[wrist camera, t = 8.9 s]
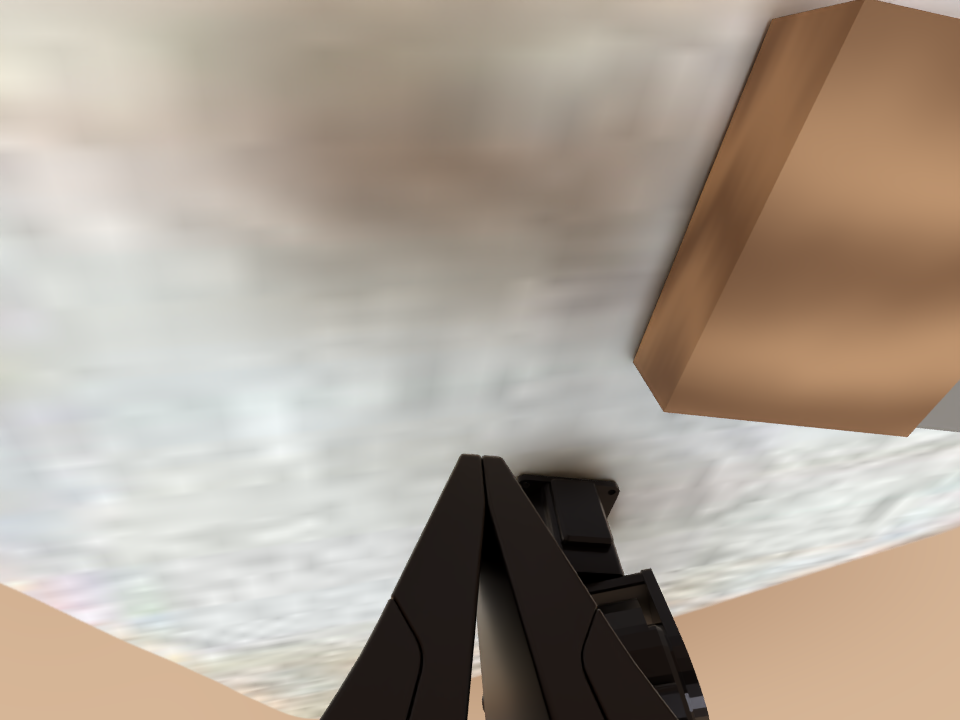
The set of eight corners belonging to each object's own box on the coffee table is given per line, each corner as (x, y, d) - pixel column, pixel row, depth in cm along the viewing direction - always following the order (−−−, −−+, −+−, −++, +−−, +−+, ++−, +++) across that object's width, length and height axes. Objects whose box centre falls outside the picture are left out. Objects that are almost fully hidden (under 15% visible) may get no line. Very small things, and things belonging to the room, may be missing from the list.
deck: (842, 386, 23) (907, 436, 20) (633, 362, 22) (663, 412, 18) (1069, 82, 16) (1233, 80, 12) (772, 19, 14) (865, -3, 11)
